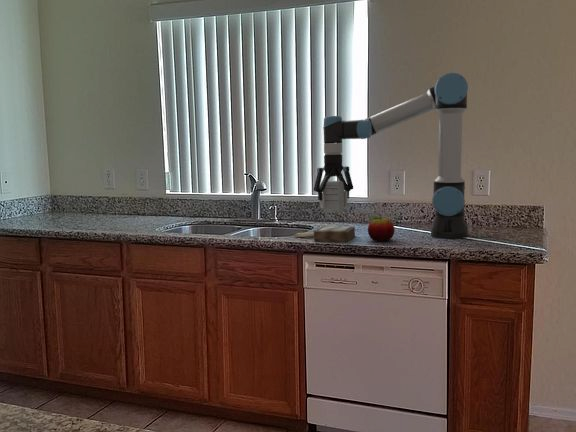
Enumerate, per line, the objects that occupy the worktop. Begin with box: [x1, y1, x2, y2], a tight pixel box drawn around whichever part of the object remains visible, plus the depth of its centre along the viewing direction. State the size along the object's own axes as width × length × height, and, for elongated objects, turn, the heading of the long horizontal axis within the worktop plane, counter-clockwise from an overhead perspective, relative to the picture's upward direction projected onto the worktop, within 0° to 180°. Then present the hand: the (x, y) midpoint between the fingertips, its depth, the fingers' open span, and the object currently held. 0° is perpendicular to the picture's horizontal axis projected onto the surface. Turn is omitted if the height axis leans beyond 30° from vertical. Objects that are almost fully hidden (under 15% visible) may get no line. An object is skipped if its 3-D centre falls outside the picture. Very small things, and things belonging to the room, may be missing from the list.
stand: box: [313, 225, 356, 243], centre depth 232 cm, size 14×14×4 cm
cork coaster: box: [294, 231, 314, 238], centre depth 241 cm, size 10×10×1 cm
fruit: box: [367, 215, 395, 243], centre depth 224 cm, size 11×11×10 cm
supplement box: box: [322, 180, 346, 214], centre depth 230 cm, size 7×7×13 cm
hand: (333, 207), depth 231 cm, fingers closed on supplement box, 10 cm apart
